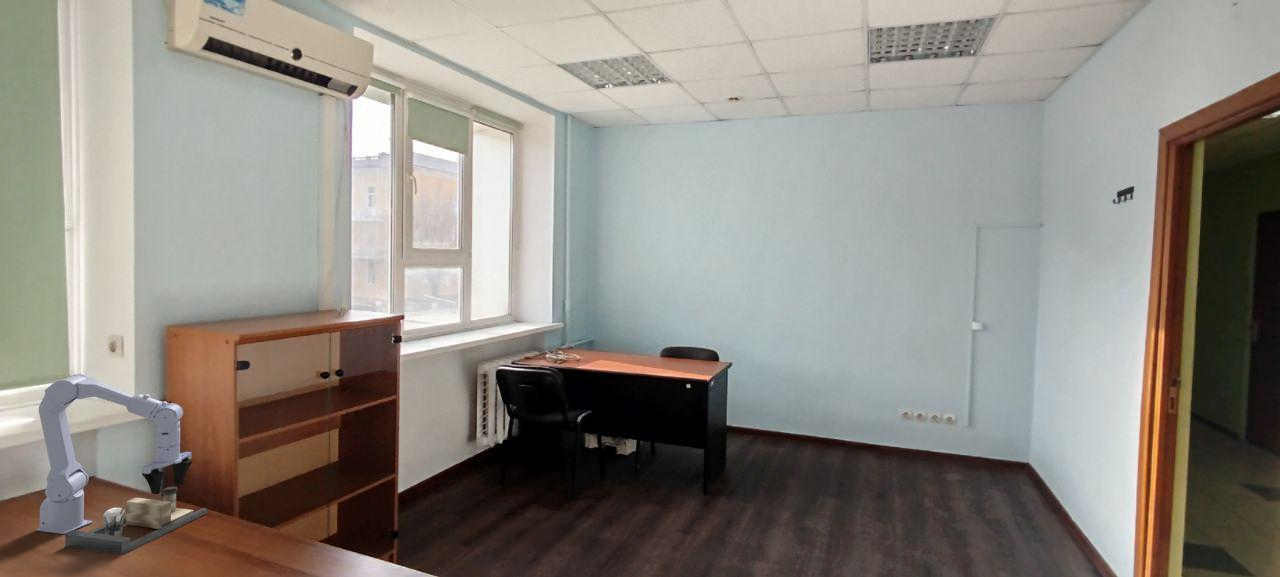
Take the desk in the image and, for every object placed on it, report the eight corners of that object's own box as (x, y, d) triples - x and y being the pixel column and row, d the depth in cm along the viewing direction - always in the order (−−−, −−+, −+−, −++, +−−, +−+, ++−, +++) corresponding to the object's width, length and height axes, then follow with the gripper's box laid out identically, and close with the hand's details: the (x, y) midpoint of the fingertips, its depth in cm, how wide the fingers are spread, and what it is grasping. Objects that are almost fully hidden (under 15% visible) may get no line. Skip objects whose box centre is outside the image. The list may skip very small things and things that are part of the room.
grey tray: (65, 547, 167) (65, 534, 166) (157, 506, 194) (157, 495, 194) (121, 554, 164) (121, 541, 164) (207, 513, 192) (207, 502, 191)
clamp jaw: (125, 524, 181) (126, 497, 180) (159, 509, 191) (160, 483, 191) (161, 529, 179) (162, 501, 179) (193, 513, 190) (194, 488, 189)
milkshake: (114, 546, 169) (114, 510, 168) (98, 543, 170) (99, 508, 169) (131, 538, 173) (131, 504, 173) (115, 536, 174) (116, 501, 174)
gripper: (157, 453, 177) (156, 499, 178) (200, 439, 191) (199, 481, 192) (136, 451, 178) (135, 496, 179) (180, 437, 192) (179, 479, 193)
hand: (167, 489), depth 185 cm, fingers open, 7 cm apart
